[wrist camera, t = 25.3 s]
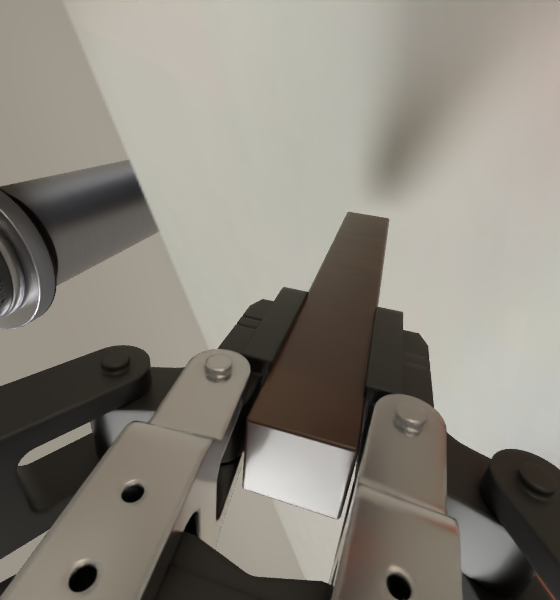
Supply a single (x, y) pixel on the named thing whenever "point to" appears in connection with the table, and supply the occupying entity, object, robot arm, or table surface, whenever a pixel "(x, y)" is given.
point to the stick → (320, 380)
